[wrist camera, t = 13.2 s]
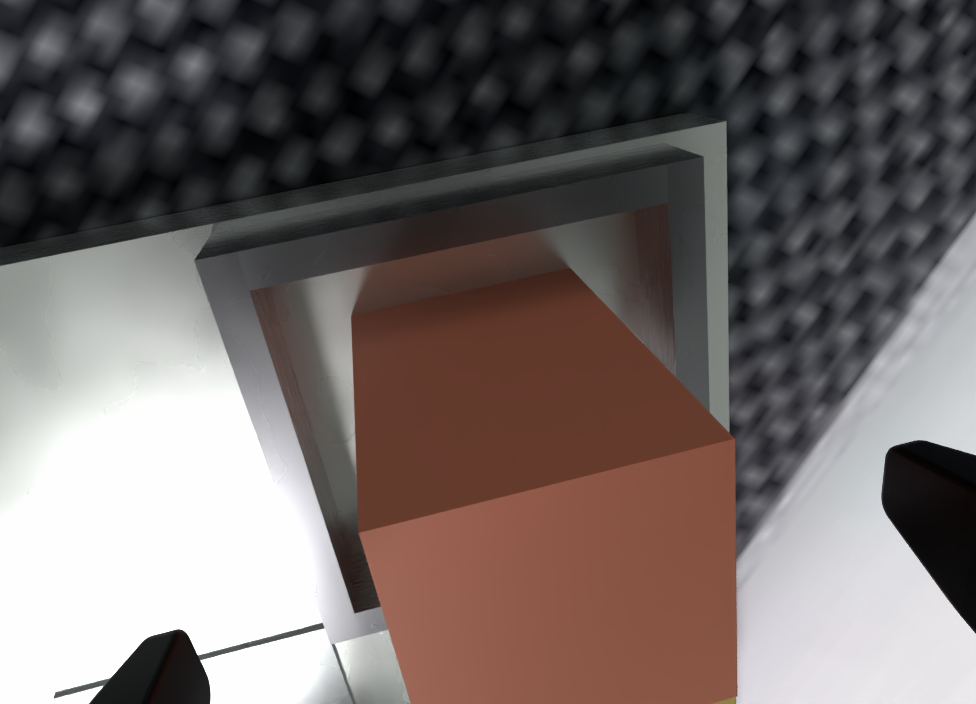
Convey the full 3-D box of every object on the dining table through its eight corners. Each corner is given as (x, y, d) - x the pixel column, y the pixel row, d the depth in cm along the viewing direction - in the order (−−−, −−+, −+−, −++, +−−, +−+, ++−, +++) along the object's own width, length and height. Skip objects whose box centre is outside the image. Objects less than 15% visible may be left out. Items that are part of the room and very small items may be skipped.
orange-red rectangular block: (569, 267, 13) (734, 438, 7) (591, 451, 15) (736, 696, 9) (351, 315, 12) (358, 532, 7) (399, 497, 14) (435, 783, 9)
